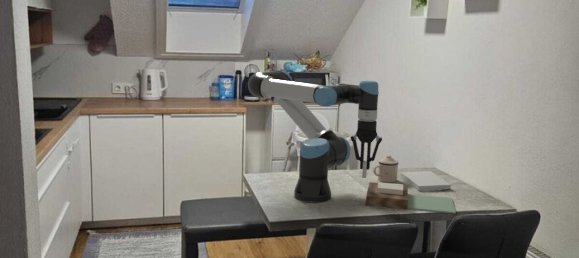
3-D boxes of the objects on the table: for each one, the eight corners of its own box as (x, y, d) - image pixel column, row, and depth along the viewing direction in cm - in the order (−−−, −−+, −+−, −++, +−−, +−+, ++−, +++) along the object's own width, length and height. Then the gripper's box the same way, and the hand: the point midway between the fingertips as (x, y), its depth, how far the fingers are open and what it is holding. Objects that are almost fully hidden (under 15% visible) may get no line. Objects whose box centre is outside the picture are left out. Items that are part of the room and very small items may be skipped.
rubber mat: (407, 209, 204) (407, 207, 204) (406, 195, 221) (407, 193, 221) (455, 213, 200) (455, 212, 200) (451, 199, 218) (451, 197, 218)
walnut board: (365, 205, 206) (366, 196, 206) (368, 191, 226) (369, 182, 225) (407, 209, 203) (408, 200, 202) (406, 194, 222) (407, 185, 222)
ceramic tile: (377, 192, 210) (377, 187, 210) (378, 186, 218) (378, 182, 218) (402, 194, 209) (403, 190, 208) (402, 189, 216) (403, 184, 216)
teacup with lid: (390, 176, 249) (392, 152, 247) (401, 182, 240) (402, 157, 238) (368, 178, 245) (369, 154, 243) (377, 184, 236) (379, 158, 234)
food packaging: (450, 191, 231) (429, 177, 250) (450, 184, 230) (430, 171, 249) (418, 193, 228) (400, 179, 247) (418, 186, 227) (400, 172, 247)
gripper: (350, 120, 208) (347, 178, 212) (383, 122, 205) (380, 180, 210) (351, 117, 215) (349, 173, 219) (384, 119, 212) (380, 175, 217)
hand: (364, 176), depth 214 cm, fingers closed
